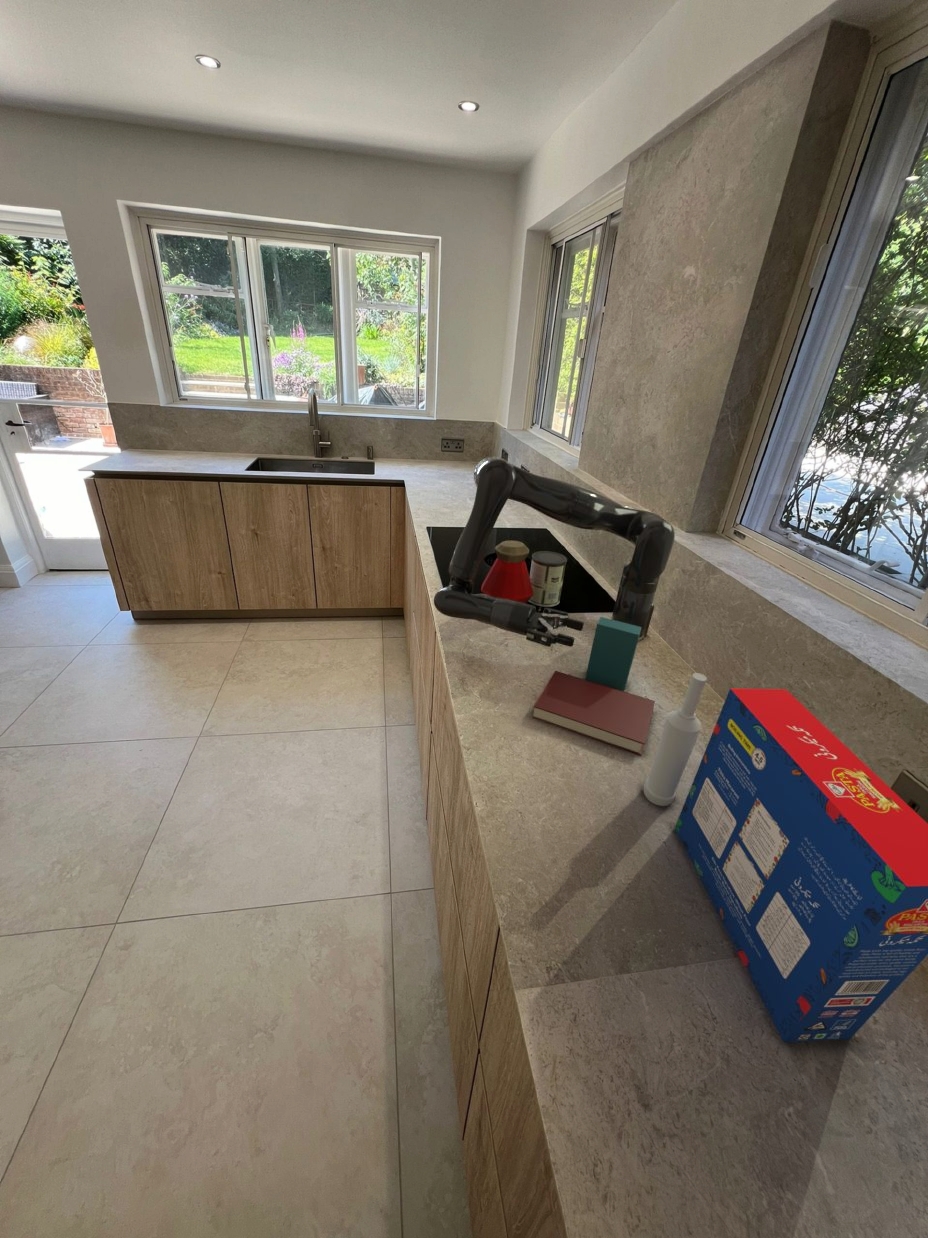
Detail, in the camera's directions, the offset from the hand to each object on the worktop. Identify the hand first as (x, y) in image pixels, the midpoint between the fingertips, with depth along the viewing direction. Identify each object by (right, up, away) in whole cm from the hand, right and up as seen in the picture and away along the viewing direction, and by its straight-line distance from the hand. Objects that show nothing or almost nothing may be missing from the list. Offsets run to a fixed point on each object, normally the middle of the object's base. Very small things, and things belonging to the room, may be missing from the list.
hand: (578, 634), depth 114 cm
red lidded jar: (-14, +7, +32) cm, 36 cm away
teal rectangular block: (+7, -11, +2) cm, 13 cm away
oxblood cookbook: (+1, -17, -10) cm, 19 cm away
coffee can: (-2, +9, +39) cm, 40 cm away
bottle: (+7, -27, -28) cm, 40 cm away
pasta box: (+12, -37, -46) cm, 60 cm away
